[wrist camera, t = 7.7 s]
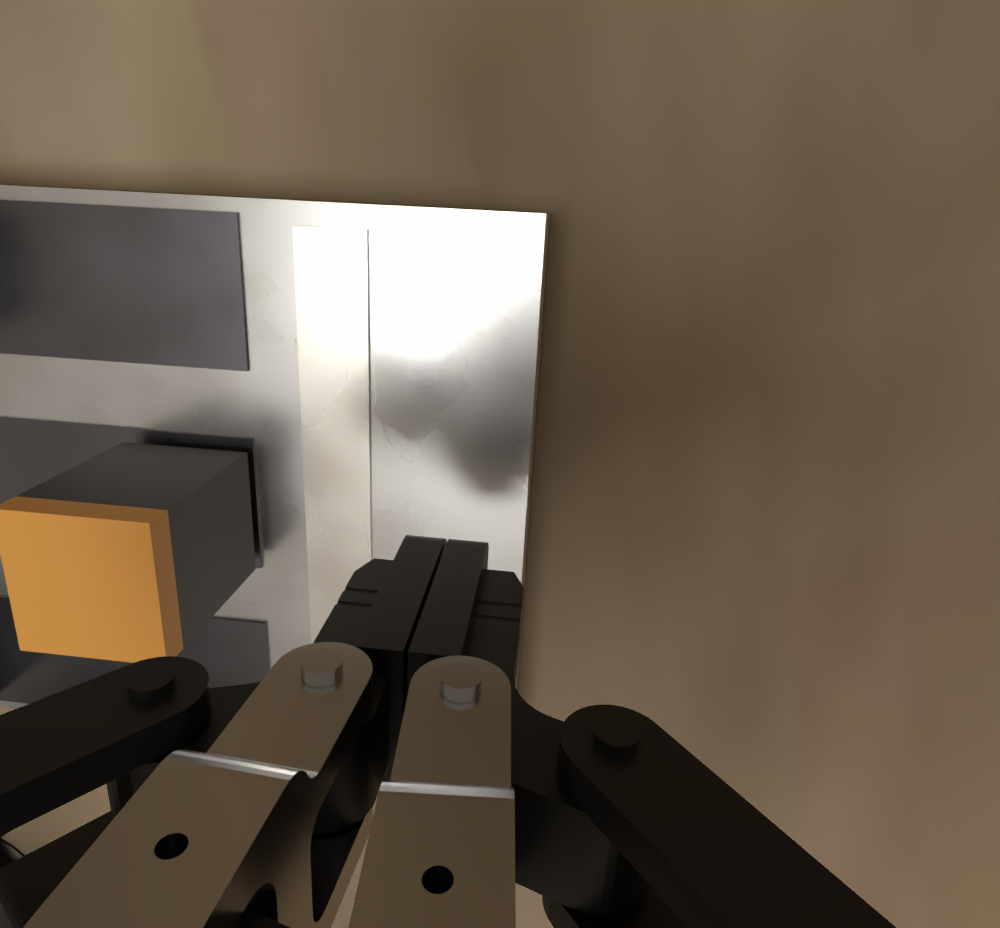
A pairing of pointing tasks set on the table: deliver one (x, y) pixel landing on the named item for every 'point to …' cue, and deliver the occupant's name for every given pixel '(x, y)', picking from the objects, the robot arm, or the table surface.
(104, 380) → the panel
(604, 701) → the table surface
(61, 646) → the block
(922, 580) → the table surface
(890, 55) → the table surface
